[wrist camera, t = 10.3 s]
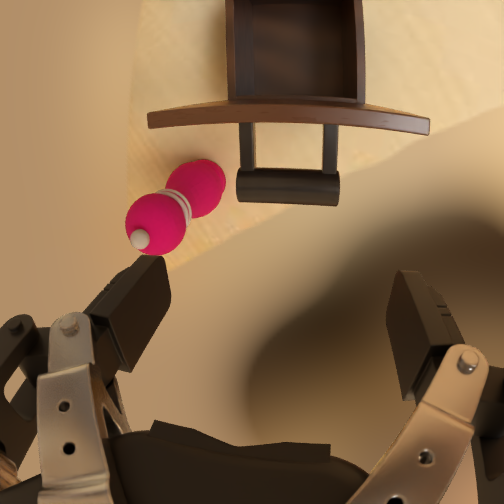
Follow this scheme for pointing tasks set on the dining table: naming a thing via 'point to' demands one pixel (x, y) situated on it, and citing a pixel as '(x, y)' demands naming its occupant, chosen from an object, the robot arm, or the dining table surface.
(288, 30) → the chest
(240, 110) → the lid
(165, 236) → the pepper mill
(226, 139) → the dining table surface
